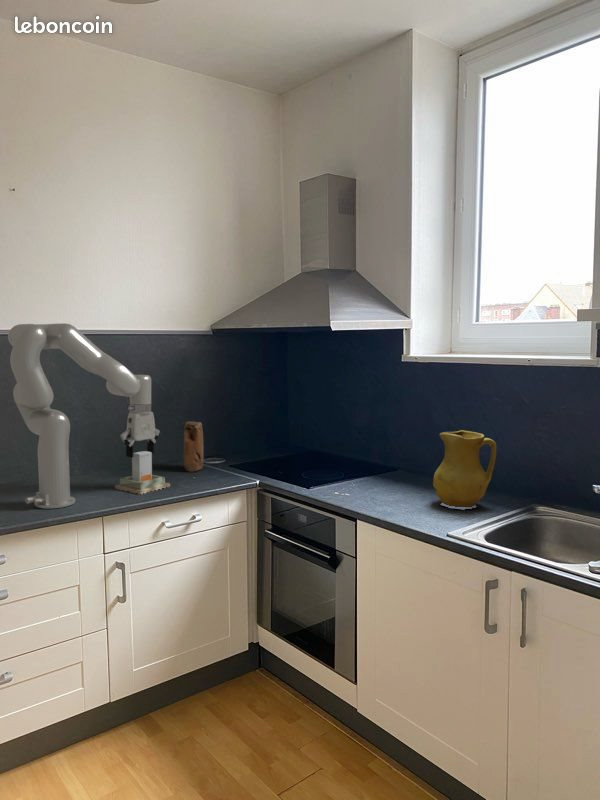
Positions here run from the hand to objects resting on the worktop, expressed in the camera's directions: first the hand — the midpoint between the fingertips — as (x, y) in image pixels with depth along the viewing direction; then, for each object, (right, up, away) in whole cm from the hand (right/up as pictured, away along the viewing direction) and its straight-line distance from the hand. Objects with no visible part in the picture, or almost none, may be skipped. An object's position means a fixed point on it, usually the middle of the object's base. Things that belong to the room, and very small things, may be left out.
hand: (140, 455), depth 229 cm
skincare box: (0, -11, +2) cm, 11 cm away
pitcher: (+112, -15, -21) cm, 115 cm away
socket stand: (0, -12, +2) cm, 12 cm away
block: (+14, -9, +32) cm, 37 cm away
